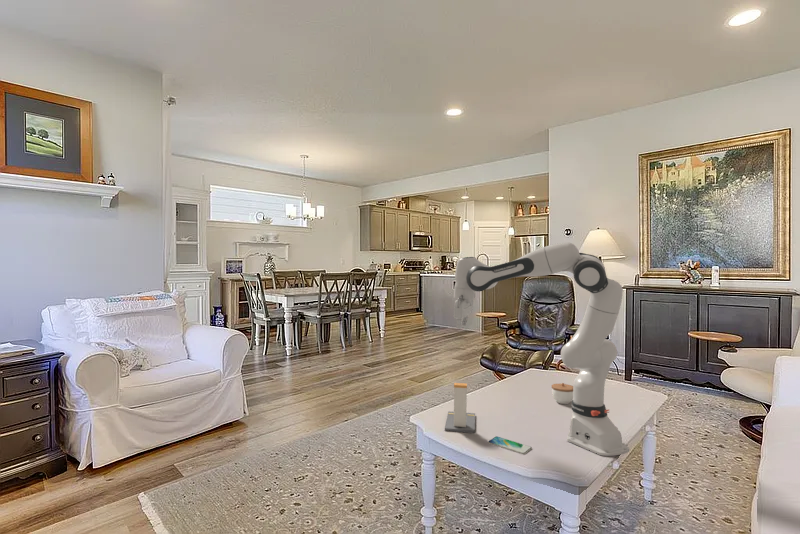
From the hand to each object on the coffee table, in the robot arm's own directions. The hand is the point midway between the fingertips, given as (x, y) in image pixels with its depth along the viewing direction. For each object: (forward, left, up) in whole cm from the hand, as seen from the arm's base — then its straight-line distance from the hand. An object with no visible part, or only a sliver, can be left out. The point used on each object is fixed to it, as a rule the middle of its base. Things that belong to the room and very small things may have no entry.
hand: (461, 326), depth 184 cm
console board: (0, 0, -41) cm, 41 cm away
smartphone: (-26, -7, -42) cm, 50 cm away
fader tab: (-6, +3, -40) cm, 40 cm away
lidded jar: (+9, -61, -41) cm, 74 cm away
